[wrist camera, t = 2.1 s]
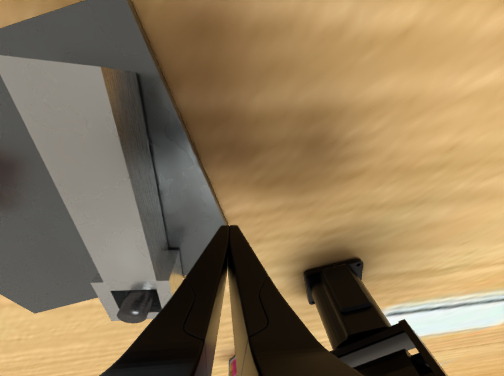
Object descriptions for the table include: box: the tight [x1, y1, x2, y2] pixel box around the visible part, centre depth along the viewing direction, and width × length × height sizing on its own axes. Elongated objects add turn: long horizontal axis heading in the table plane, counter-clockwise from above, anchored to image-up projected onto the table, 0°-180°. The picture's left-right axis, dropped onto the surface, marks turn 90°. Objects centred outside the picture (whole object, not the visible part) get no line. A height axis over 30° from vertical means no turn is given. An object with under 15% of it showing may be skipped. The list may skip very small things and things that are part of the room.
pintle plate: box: [0, 0, 228, 323], centre depth 11 cm, size 19×22×5 cm
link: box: [0, 55, 183, 321], centre depth 12 cm, size 18×5×3 cm, turn 174°
